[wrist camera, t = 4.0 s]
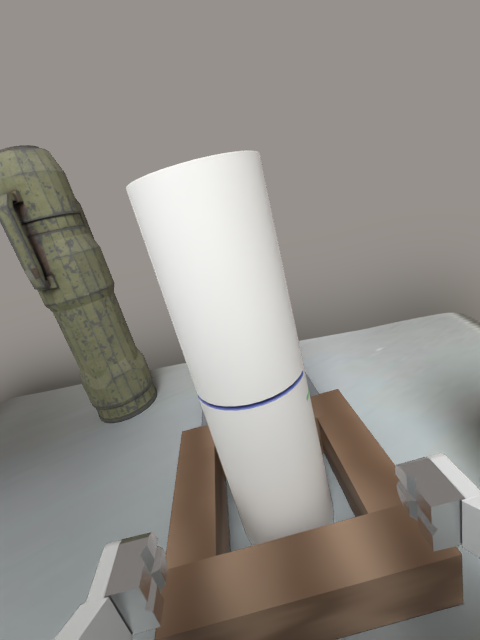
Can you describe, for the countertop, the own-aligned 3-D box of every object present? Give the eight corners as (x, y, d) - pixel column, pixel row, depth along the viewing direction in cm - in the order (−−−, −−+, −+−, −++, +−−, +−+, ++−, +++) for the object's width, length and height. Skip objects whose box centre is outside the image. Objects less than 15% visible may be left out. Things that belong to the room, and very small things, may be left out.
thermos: (167, 377, 52) (81, 149, 41) (142, 424, 41) (14, 129, 30) (119, 387, 53) (23, 168, 42) (82, 435, 42) (-63, 155, 31)
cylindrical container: (225, 533, 24) (98, 197, 16) (270, 464, 29) (191, 185, 21) (312, 580, 20) (197, 151, 12) (346, 490, 25) (283, 149, 17)
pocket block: (179, 683, 17) (154, 640, 15) (194, 462, 32) (182, 431, 31) (463, 603, 17) (462, 554, 16) (343, 421, 32) (337, 389, 31)
